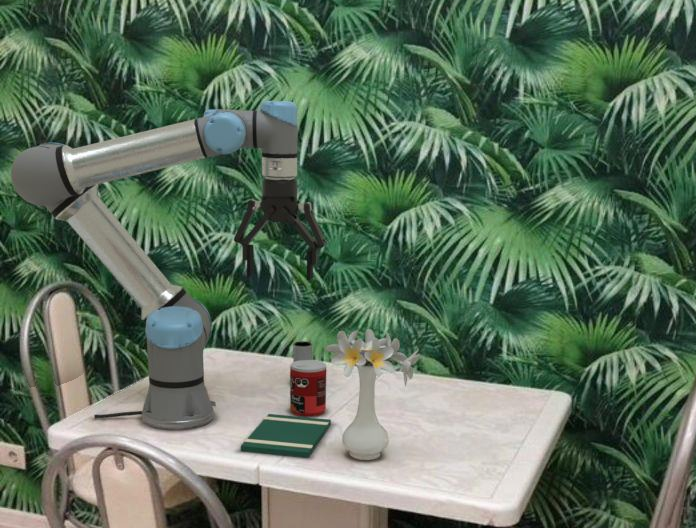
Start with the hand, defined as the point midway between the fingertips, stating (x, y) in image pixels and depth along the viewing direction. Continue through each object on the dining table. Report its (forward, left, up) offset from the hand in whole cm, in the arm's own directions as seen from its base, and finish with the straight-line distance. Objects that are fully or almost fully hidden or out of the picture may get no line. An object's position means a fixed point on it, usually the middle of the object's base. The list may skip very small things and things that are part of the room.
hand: (279, 277), depth 211 cm
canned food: (+8, -6, -29) cm, 31 cm away
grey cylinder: (+2, +13, -29) cm, 32 cm away
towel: (+8, -23, -29) cm, 38 cm away
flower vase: (+26, -28, -29) cm, 48 cm away
